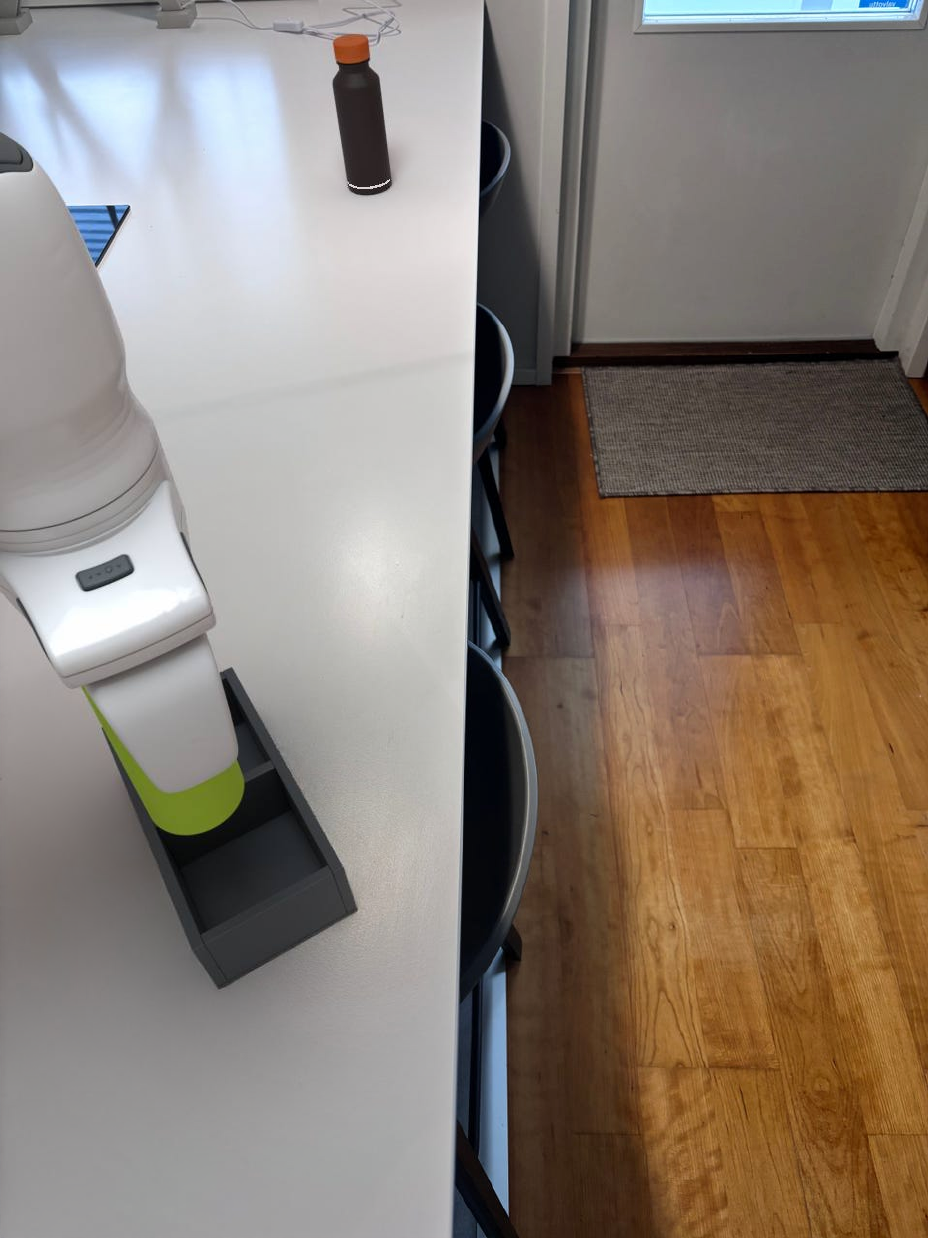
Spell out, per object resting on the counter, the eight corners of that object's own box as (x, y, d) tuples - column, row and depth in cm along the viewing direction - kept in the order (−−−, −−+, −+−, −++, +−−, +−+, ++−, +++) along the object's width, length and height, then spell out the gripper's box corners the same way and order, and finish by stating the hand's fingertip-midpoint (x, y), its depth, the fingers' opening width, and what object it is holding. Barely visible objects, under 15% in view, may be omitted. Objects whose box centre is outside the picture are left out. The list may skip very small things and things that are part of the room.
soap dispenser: (211, 860, 55) (99, 625, 40) (127, 807, 58) (-7, 569, 43) (277, 786, 58) (194, 543, 44) (194, 739, 61) (91, 496, 46)
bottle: (344, 180, 147) (322, 35, 132) (387, 172, 148) (370, 28, 133) (351, 198, 143) (329, 51, 128) (395, 191, 144) (378, 43, 129)
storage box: (218, 990, 64) (192, 951, 59) (129, 773, 76) (100, 727, 72) (358, 910, 67) (344, 868, 63) (250, 714, 80) (231, 666, 75)
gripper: (-43, 419, 47) (60, 608, 57) (64, 697, 35) (171, 874, 45) (83, 376, 49) (161, 567, 59) (225, 626, 37) (292, 811, 47)
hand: (166, 702), depth 52 cm, fingers closed on soap dispenser, 6 cm apart
